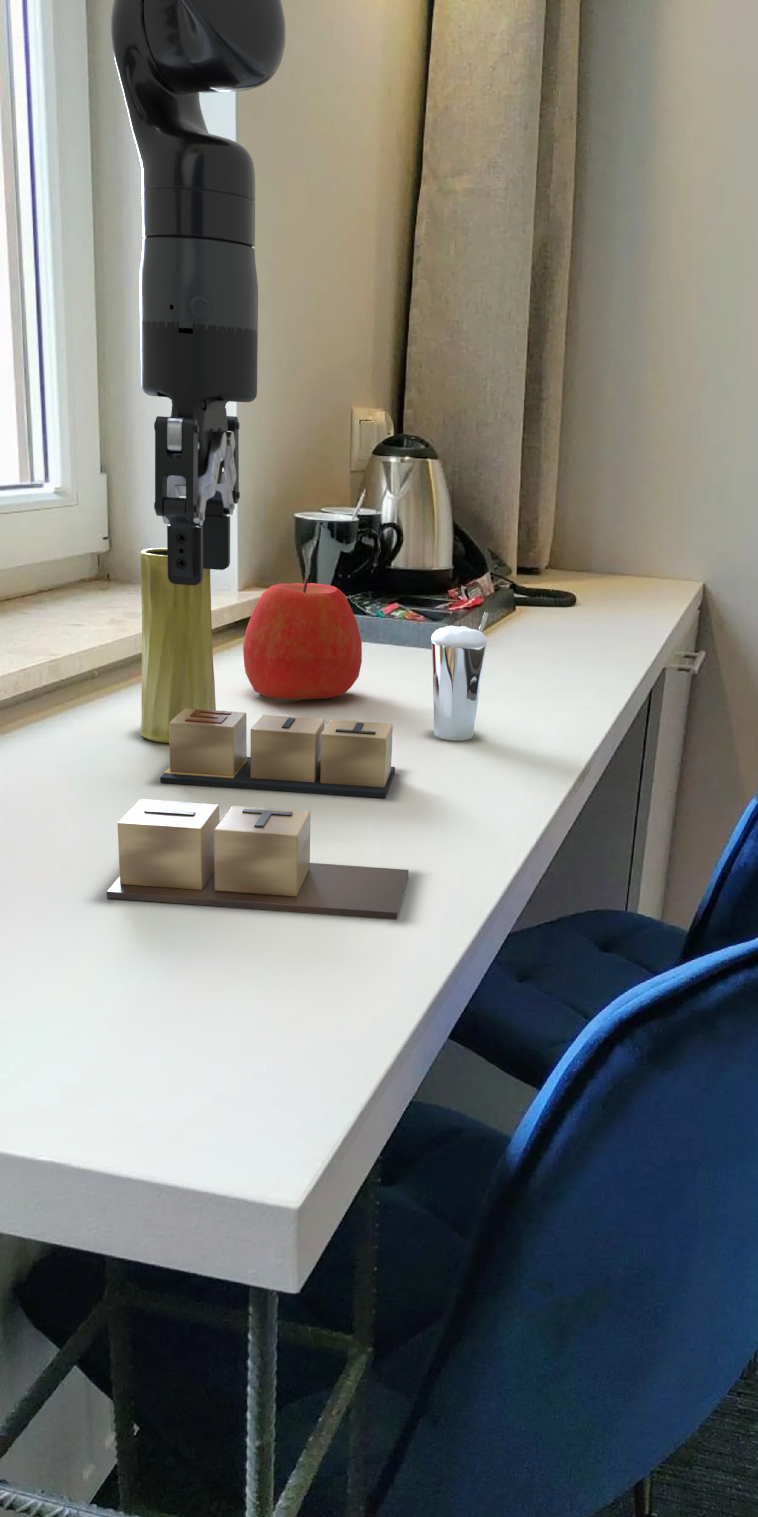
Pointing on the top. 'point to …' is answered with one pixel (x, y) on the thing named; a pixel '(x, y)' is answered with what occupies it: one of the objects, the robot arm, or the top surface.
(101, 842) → the top surface
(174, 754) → the tile
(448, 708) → the milkshake
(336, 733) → the far word
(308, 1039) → the top surface
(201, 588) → the vase
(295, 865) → the near word
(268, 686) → the apple
